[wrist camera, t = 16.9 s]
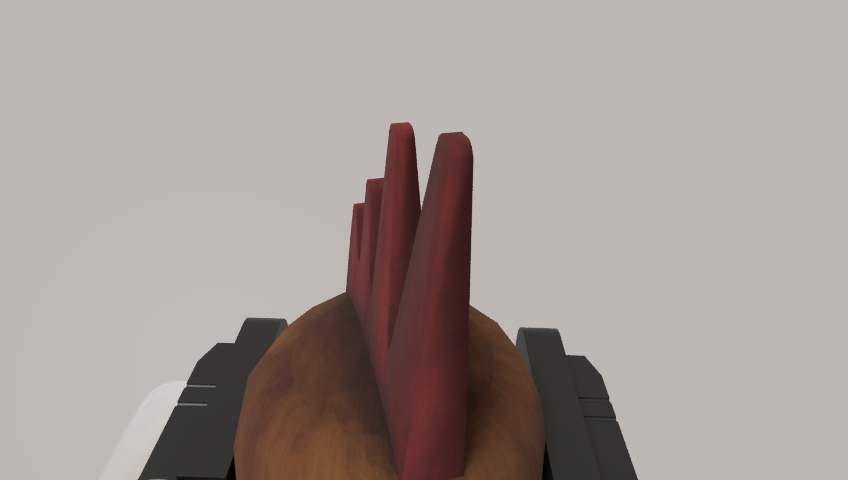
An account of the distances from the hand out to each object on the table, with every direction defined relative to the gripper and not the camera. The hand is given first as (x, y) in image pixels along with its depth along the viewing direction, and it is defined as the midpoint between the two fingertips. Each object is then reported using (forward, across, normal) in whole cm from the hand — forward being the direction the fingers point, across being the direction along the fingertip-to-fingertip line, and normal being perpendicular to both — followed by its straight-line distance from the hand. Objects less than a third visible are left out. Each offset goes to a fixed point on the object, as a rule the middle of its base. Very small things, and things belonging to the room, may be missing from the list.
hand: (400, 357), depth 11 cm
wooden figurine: (-3, 0, +9) cm, 9 cm away
